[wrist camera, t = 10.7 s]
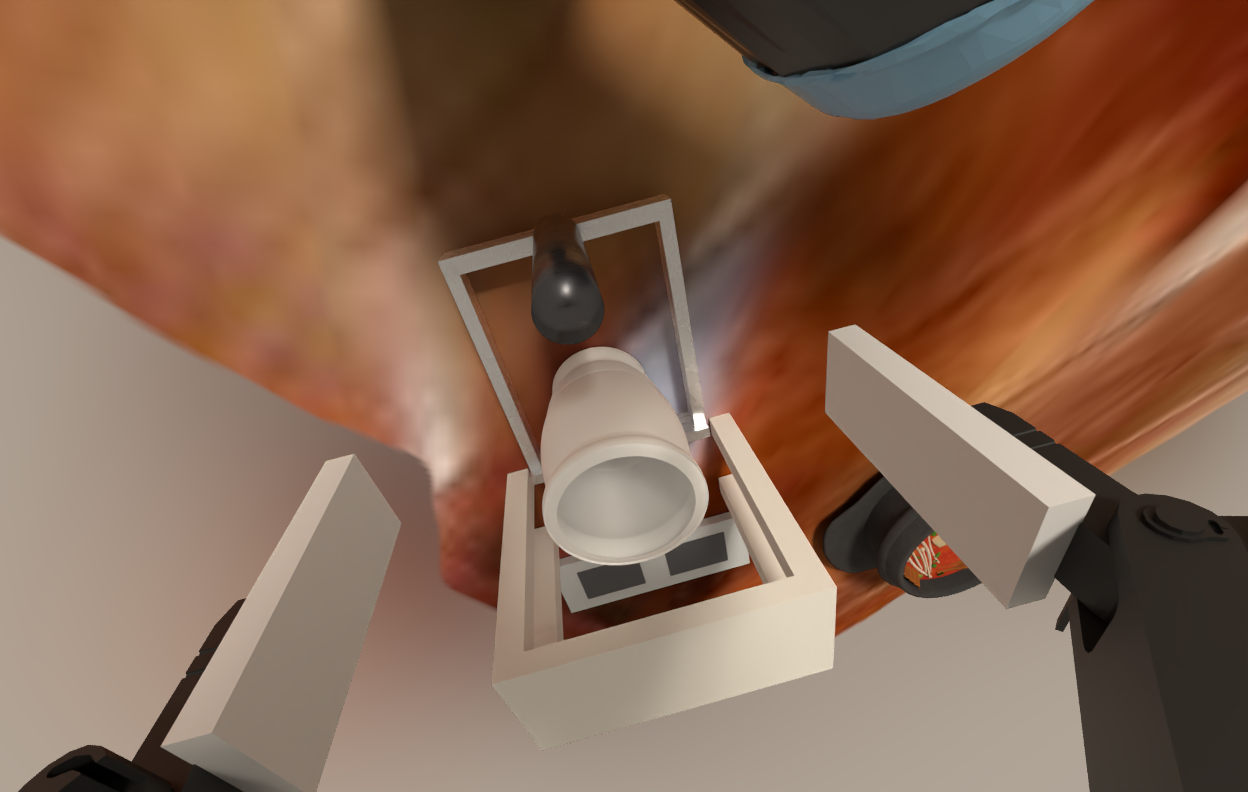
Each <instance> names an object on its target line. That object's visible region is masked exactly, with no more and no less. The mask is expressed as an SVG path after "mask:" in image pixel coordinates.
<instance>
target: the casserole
mask: <svg viewBox="0 0 1248 792" xmlns="http://www.w3.org/2000/svg"><path fill="white" fill-rule="evenodd" d="M823 551H824V554H825V557H826V558H827V560H828V561H829V562H830V563H831V565H833V566H834V567H836V568H837V569H839V570H842V571H845V572H848V573H858V572H862V571H866V570H869V569H873V568H876V567H877V568H878V572H879V574H880V576H881V577H882V578H883V580H885V581H886V582H888V583H889V584H891V585H894V586H896V587H899V588H901V589H902V590H904V591H905V592H907V593H908V594H910V595H913V596H916V597H922V598H937V597H943V596H949V595H952V594H955V593H959V592H962V591H965V590H967V589H970V588H972V587H975V586H976V585H978V584H980V583H982V582H981V581H980V580H979V579H978V578H977V577H976V576H975V575H974V573H973V572H972V571H971V570H970V569H969V568H968V567H967V566H966V565H965V564H964V563H963V561H962V560H961V559H960V558H959V557H958V556H957V555H956V554H955V553H954V552H953V551H952V550H951V548H950V547H949V546H948V545H947V544H946V543H945V542H944V541H943V540H942V539H941V538H940V537H939V535H938V534H937V533H936V532H935V531H934V530H933V529H932V528H931V527H930V526H929V525H928V523H927V522H926V521H925V520H924V519H923V518H922V517H921V516H920V515H919V514H918V513H917V512H916V510H915V509H914V508H913V507H912V506H911V505H910V504H909V503H908V502H907V501H906V500H905V499H904V497H903V496H902V495H901V494H900V493H899V492H898V491H897V490H896V489H895V488H894V487H893V485H892V484H891V483H890V482H889V481H888V480H887V479H886V478H885V477H882V478H881V479H880V480H879V481H878V482H877V483H875V484H874V485H873V486H872V487H871V488H870V489H869V490H868V491H867V492H866V493H865V494H864V495H863V496H862V497H861V498H860V499H859V500H858V501H857V502H856V503H855V504H854V505H852V506H851V507H850V508H848V509H847V510H846V511H845V512H843V513H842V514H841V515H839V516H838V517H837V518H835V519H834V520H833V521H832V522H831V523H830V525H829V526H828V527H827V529H826V530H825V533H824V537H823Z"/></svg>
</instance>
